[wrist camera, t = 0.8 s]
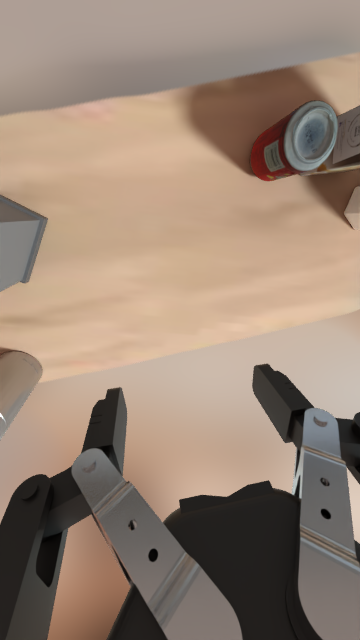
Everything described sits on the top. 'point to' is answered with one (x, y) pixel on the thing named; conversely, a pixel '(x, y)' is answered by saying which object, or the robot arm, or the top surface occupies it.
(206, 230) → the top surface
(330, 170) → the coffee box
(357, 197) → the jar
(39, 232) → the stand
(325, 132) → the soda can
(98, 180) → the top surface
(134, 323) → the top surface
